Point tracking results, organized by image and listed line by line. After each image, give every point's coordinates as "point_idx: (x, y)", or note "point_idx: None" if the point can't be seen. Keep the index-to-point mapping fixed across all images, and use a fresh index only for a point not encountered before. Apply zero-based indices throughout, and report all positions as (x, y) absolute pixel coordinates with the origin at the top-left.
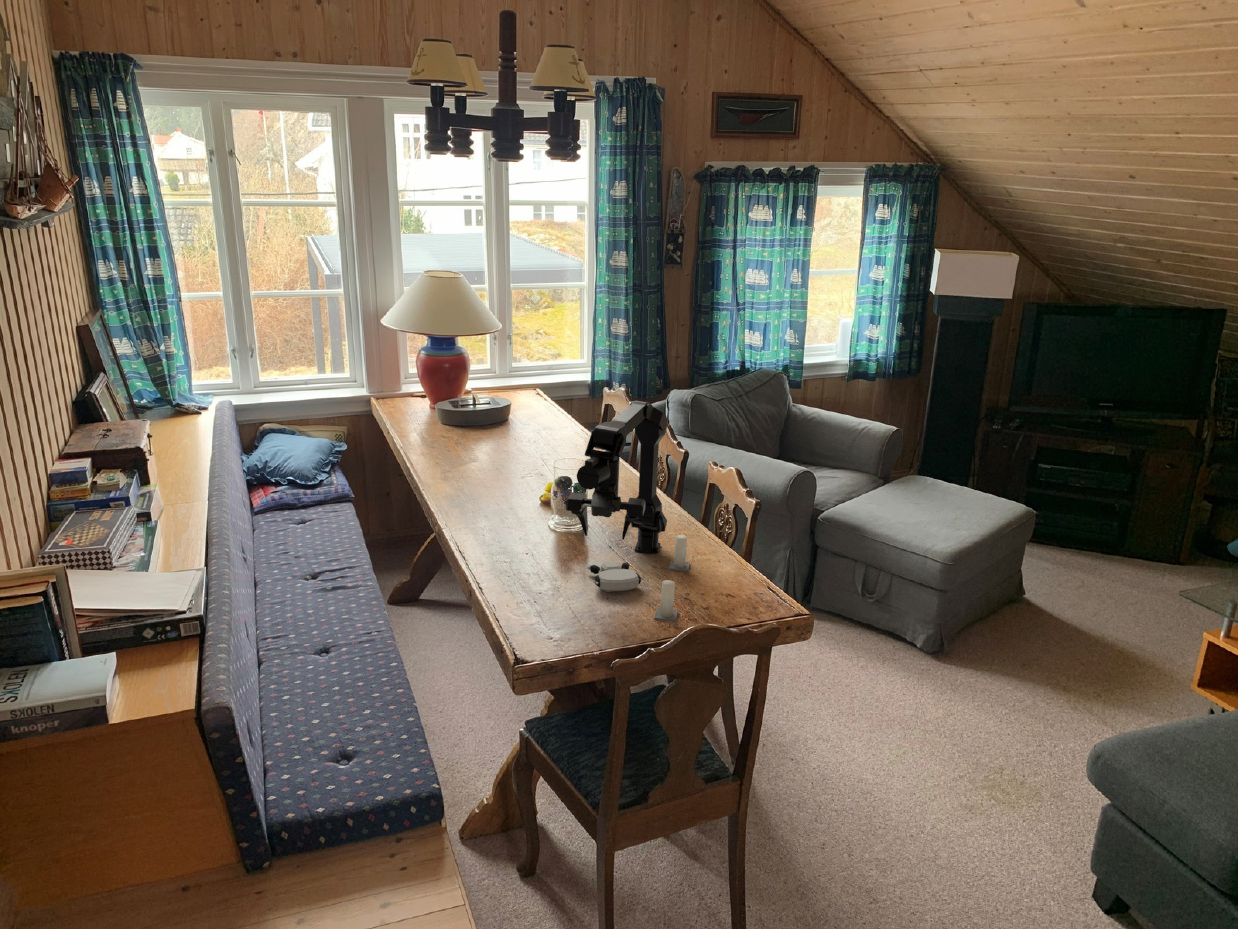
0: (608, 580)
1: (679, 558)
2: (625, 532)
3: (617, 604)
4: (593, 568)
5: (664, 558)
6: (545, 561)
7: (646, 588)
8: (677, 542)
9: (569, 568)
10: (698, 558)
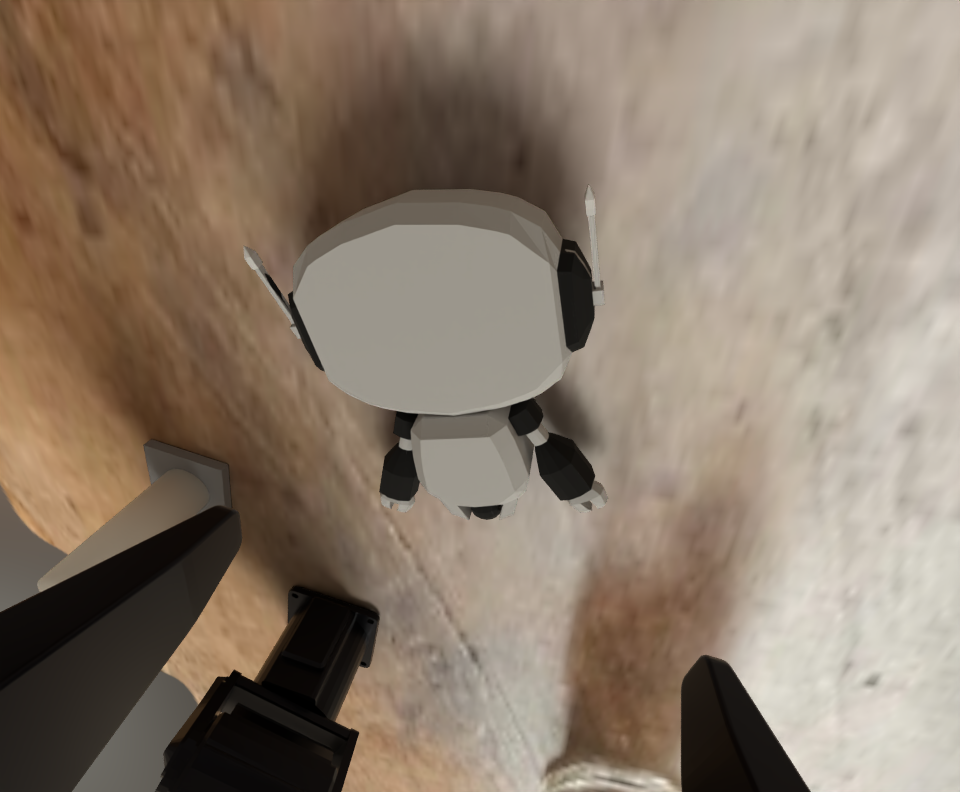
0: (495, 226)
1: (151, 500)
2: (101, 573)
3: (457, 57)
4: (576, 466)
5: (263, 552)
6: (800, 609)
7: None
8: None
9: (690, 534)
10: None
